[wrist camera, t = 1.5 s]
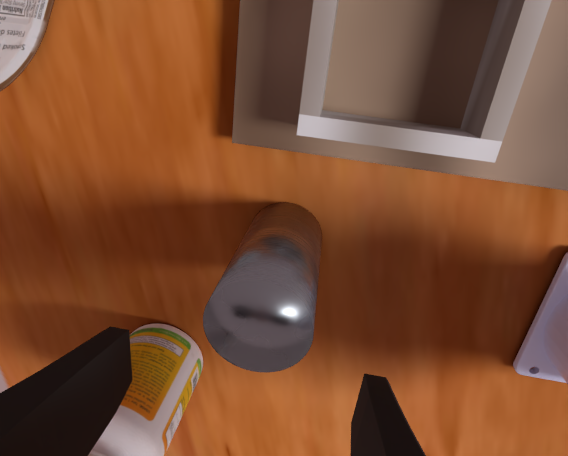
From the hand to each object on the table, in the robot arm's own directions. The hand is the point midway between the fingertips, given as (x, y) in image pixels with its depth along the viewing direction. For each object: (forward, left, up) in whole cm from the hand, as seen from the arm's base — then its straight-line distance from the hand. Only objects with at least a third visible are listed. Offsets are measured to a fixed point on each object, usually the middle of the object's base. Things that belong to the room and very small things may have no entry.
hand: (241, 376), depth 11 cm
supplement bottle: (+7, +10, -10) cm, 16 cm away
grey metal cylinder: (0, 0, -10) cm, 10 cm away
